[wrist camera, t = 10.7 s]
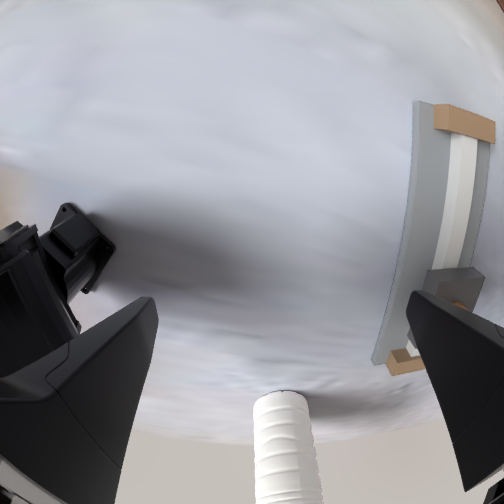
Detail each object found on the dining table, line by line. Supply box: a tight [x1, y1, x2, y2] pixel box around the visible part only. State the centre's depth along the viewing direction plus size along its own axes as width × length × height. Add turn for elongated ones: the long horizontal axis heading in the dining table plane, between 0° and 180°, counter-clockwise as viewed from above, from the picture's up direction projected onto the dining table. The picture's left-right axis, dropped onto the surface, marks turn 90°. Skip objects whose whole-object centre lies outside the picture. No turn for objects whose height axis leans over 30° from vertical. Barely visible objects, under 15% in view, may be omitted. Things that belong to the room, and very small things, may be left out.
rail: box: [371, 101, 495, 376], centre depth 21 cm, size 26×9×3 cm, turn 1°
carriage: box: [407, 267, 485, 349], centre depth 17 cm, size 7×6×10 cm
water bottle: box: [254, 391, 324, 504], centre depth 19 cm, size 9×6×25 cm
